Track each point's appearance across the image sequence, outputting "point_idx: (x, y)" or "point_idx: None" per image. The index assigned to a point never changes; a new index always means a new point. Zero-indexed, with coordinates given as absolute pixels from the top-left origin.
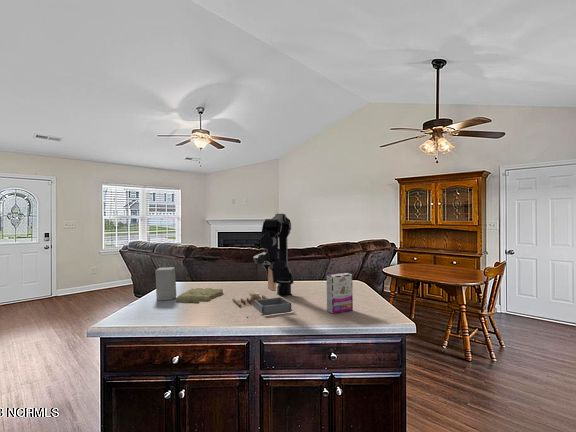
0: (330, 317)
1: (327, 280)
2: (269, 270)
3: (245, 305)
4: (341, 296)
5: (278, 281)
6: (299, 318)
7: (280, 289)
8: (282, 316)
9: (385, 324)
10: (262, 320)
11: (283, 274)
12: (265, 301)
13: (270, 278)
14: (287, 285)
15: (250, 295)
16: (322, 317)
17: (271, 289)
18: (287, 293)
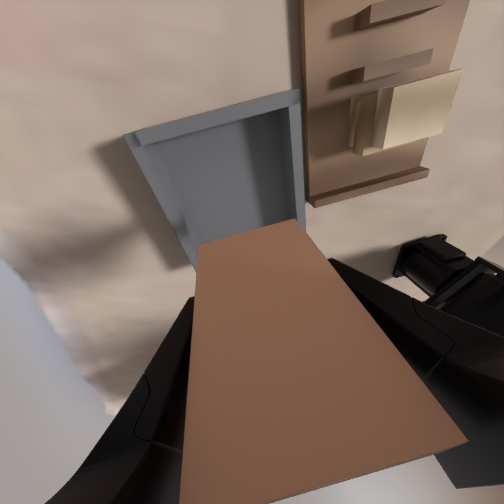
0: (142, 338)
1: None
2: (344, 383)
3: (332, 26)
4: None
5: (487, 268)
6: (118, 275)
7: (432, 256)
8: (137, 224)
9: (103, 398)
10: (41, 117)
11: (479, 319)
12: (290, 173)
13: (265, 296)
14: (428, 288)
15: (420, 78)
16: (139, 325)
17: (225, 241)
18: (403, 267)
